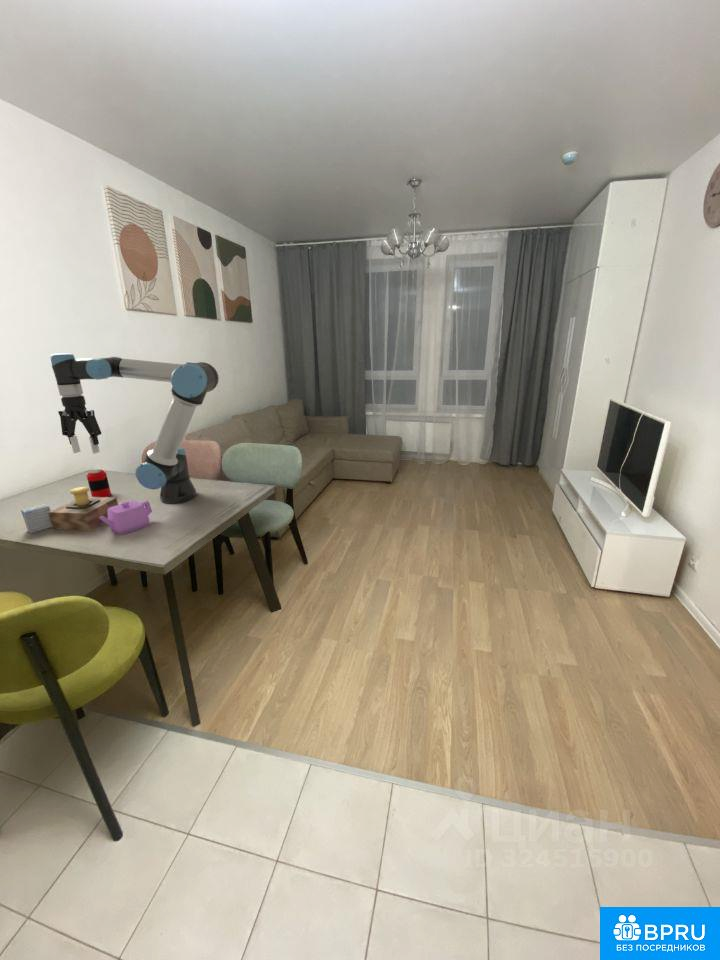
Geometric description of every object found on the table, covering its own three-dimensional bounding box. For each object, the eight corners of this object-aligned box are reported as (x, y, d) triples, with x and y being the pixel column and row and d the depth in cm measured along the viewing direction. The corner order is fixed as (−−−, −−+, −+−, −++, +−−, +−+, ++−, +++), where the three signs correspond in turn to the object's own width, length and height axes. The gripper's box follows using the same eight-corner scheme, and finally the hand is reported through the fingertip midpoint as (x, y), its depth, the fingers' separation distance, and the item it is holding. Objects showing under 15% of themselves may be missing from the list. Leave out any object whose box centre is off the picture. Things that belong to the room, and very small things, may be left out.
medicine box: (52, 523, 158) (45, 503, 155) (55, 526, 155) (49, 505, 152) (27, 530, 152) (20, 509, 149) (30, 533, 149) (23, 512, 146)
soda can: (109, 497, 184) (103, 472, 180) (90, 500, 181) (83, 474, 177) (112, 492, 190) (106, 468, 186) (94, 494, 188) (87, 470, 184)
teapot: (110, 540, 143) (103, 514, 140) (98, 532, 149) (91, 507, 146) (159, 522, 156) (154, 498, 153) (146, 516, 163) (141, 492, 159)
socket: (120, 513, 166) (116, 496, 163) (90, 530, 151) (85, 512, 148) (85, 512, 168) (80, 495, 165) (53, 528, 153) (47, 510, 150)
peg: (97, 506, 160) (92, 486, 157) (85, 512, 154) (80, 492, 152) (83, 506, 161) (78, 486, 158) (71, 512, 155) (66, 491, 152)
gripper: (103, 394, 156) (116, 450, 164) (56, 394, 159) (71, 449, 167) (88, 396, 149) (103, 455, 157) (39, 397, 152) (56, 454, 160)
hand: (86, 452), depth 162 cm, fingers open, 8 cm apart
